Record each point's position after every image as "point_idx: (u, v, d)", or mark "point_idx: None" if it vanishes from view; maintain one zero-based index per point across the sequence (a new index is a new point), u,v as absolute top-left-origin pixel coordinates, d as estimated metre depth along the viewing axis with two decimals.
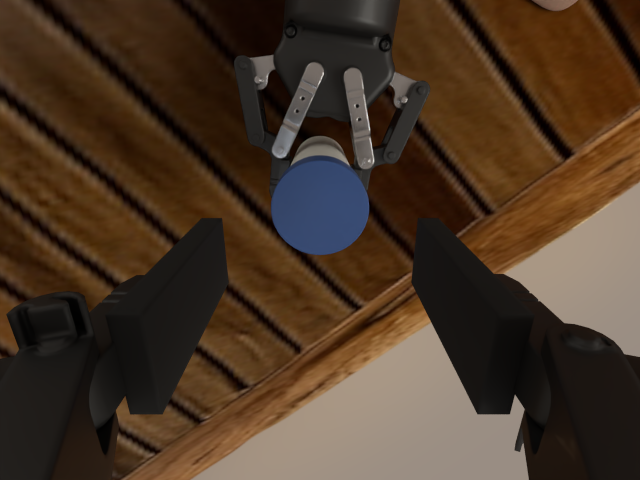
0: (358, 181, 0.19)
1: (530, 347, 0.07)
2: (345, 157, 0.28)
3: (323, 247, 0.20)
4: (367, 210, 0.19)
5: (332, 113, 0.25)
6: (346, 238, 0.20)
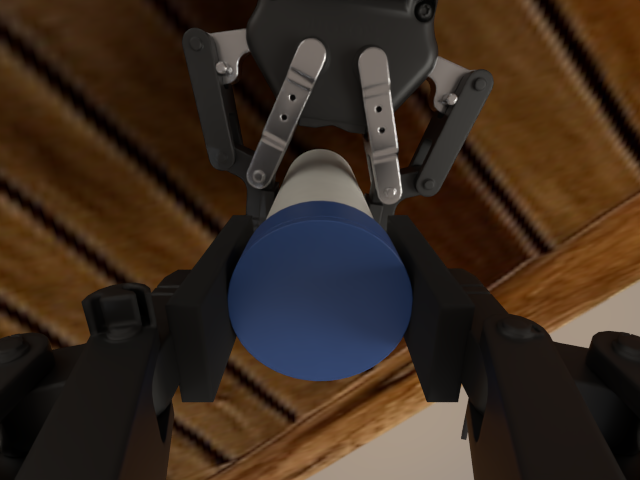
0: (395, 258, 0.10)
1: (471, 336, 0.08)
2: (357, 185, 0.18)
3: (326, 369, 0.11)
4: (410, 309, 0.10)
5: (339, 120, 0.16)
6: (368, 355, 0.11)
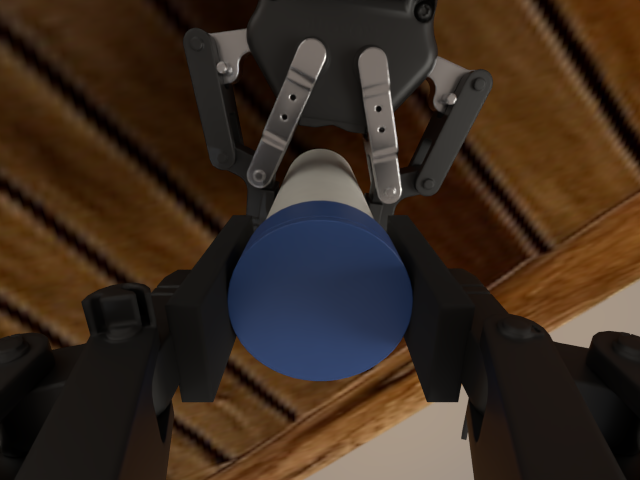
0: (272, 235, 0.09)
1: (471, 336, 0.08)
2: (357, 185, 0.19)
3: (396, 312, 0.10)
4: (335, 224, 0.09)
5: (339, 120, 0.16)
6: (388, 270, 0.10)
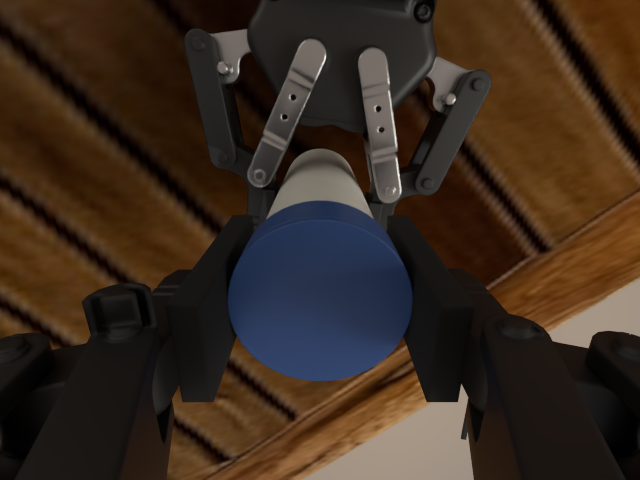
0: (238, 334, 0.10)
1: (471, 336, 0.08)
2: (357, 184, 0.19)
3: (338, 237, 0.09)
4: (231, 283, 0.10)
5: (339, 120, 0.17)
6: (285, 242, 0.09)
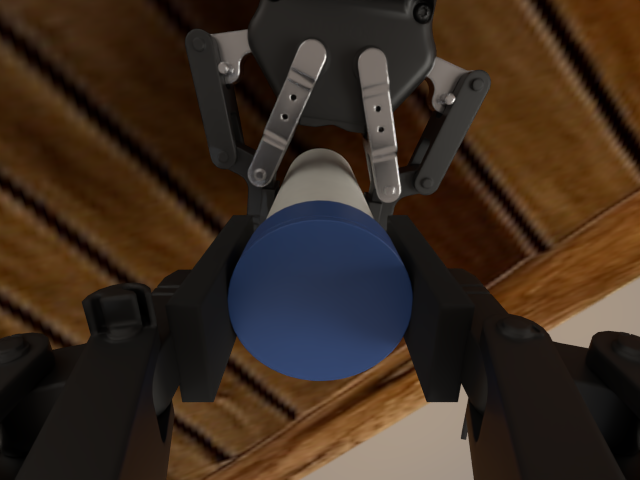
0: (336, 377, 0.11)
1: (471, 336, 0.08)
2: (357, 184, 0.19)
3: (246, 283, 0.10)
4: (282, 372, 0.11)
5: (339, 120, 0.17)
6: (247, 325, 0.10)
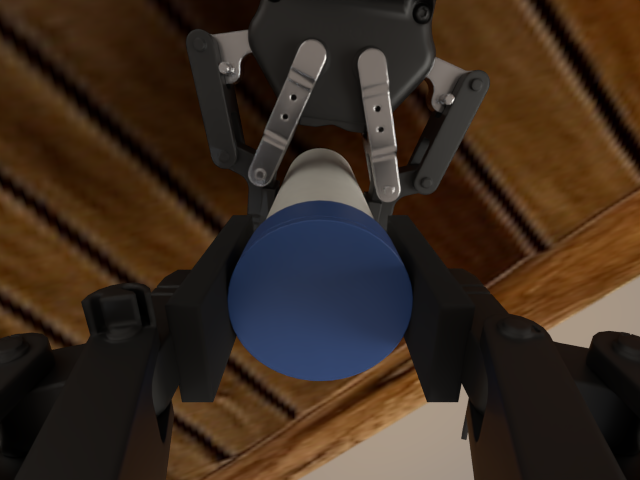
0: (410, 304, 0.10)
1: (471, 336, 0.08)
2: (357, 183, 0.19)
3: (284, 361, 0.11)
4: (389, 351, 0.11)
5: (339, 120, 0.17)
6: (328, 369, 0.11)
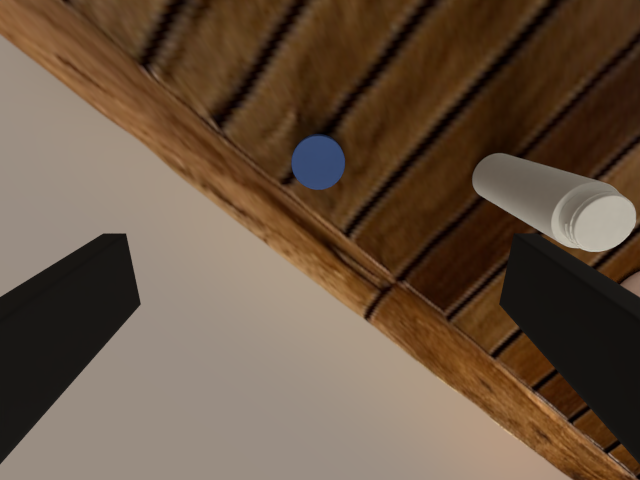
0: (320, 136, 0.34)
1: None
2: None
3: (335, 177, 0.36)
4: (336, 144, 0.35)
5: None
6: (340, 164, 0.35)
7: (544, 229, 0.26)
